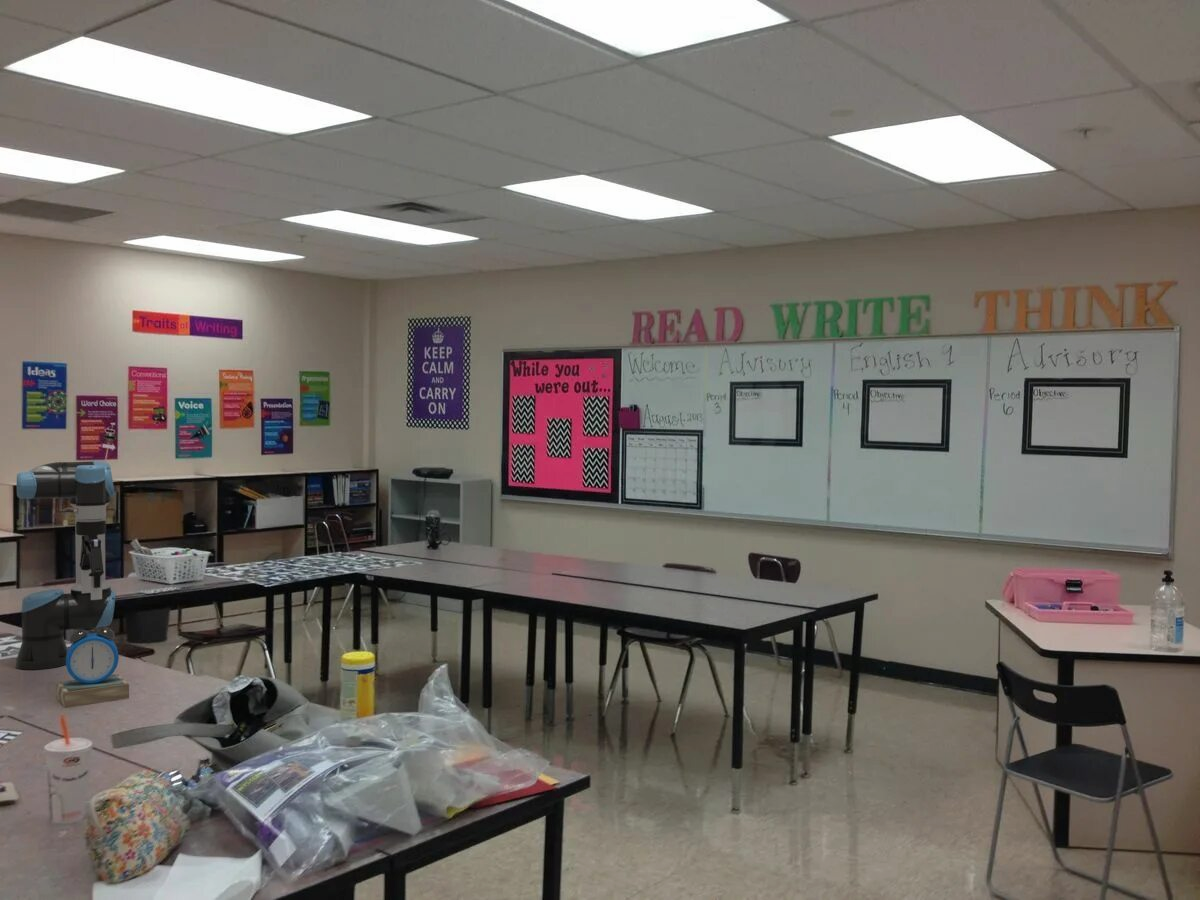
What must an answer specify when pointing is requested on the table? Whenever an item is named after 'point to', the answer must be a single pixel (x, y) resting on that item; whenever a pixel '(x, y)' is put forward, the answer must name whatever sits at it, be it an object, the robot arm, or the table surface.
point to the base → (92, 691)
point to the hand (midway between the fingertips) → (91, 596)
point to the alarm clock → (92, 655)
